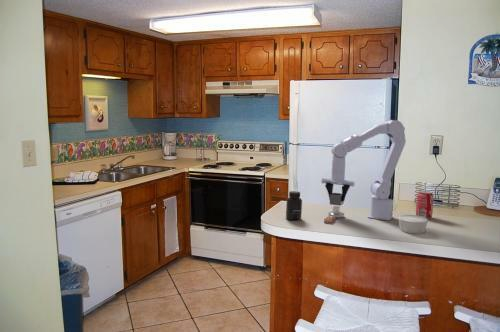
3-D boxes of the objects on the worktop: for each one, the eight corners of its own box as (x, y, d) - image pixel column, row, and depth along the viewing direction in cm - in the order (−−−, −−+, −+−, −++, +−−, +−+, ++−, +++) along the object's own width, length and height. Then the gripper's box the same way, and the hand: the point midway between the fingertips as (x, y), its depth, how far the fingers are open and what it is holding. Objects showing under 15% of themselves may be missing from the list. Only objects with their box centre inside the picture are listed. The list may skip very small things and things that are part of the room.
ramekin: (400, 234, 164) (401, 221, 163) (394, 226, 175) (395, 213, 174) (430, 235, 163) (431, 222, 162) (422, 227, 173) (423, 215, 173)
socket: (343, 203, 188) (344, 193, 188) (340, 205, 184) (341, 195, 183) (332, 202, 191) (333, 192, 190) (329, 204, 186) (330, 194, 186)
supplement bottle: (296, 221, 178) (297, 194, 177) (282, 219, 182) (283, 192, 181) (304, 218, 184) (305, 192, 182) (291, 215, 188) (292, 189, 186)
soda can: (429, 215, 193) (431, 190, 191) (434, 219, 186) (436, 193, 184) (413, 215, 194) (415, 189, 192) (418, 219, 187) (420, 192, 185)
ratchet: (330, 213, 193) (331, 204, 192) (345, 215, 190) (346, 206, 189) (319, 222, 179) (319, 211, 178) (335, 224, 175) (335, 214, 175)
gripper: (319, 170, 185) (318, 200, 187) (352, 173, 179) (350, 204, 180) (324, 168, 191) (323, 197, 193) (356, 171, 185) (354, 201, 187)
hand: (336, 200), depth 187 cm, fingers closed on socket, 5 cm apart
